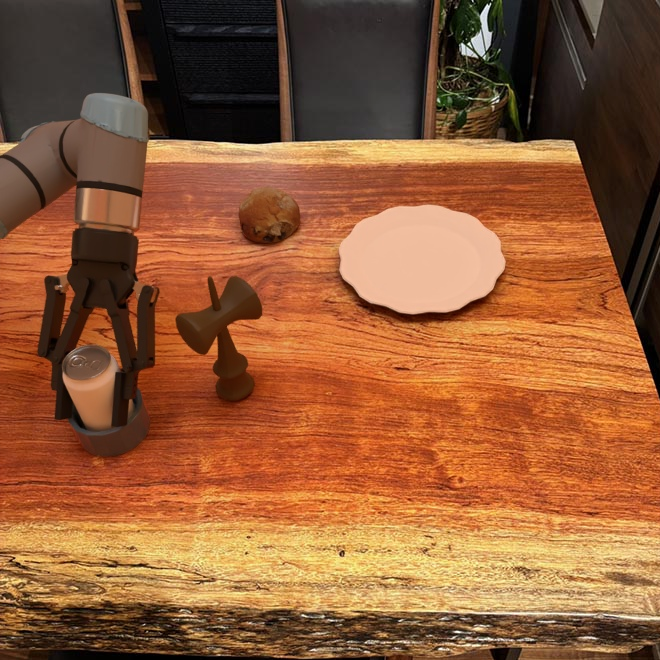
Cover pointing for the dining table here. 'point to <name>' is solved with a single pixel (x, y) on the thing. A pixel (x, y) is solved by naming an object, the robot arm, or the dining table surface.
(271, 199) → the bread roll
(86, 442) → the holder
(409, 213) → the plate
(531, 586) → the dining table surface
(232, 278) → the kendama
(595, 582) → the dining table surface
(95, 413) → the can
